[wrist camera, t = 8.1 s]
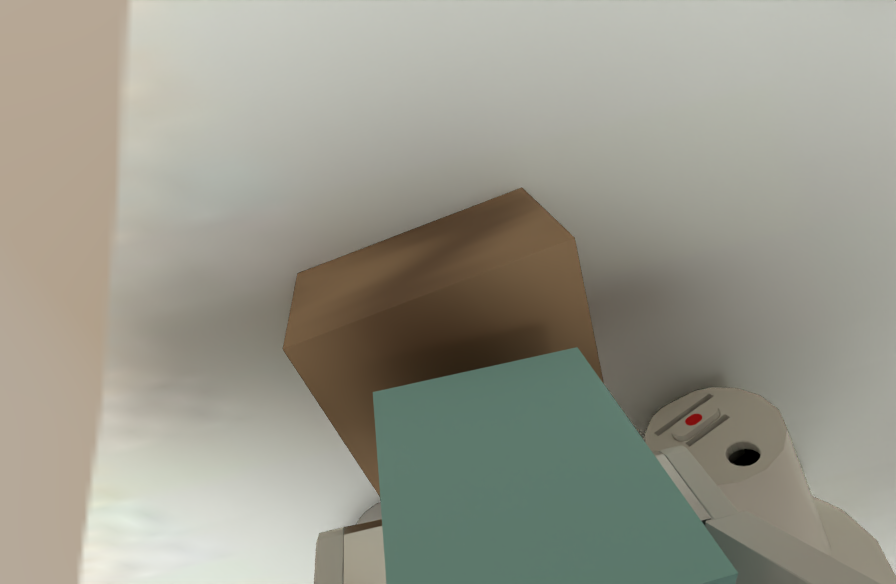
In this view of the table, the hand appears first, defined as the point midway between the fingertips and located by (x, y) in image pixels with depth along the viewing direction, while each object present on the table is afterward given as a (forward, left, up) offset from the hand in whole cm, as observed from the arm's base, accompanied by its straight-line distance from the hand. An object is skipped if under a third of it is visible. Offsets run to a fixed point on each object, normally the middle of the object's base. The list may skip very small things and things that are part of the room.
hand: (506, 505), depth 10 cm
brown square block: (0, 0, -7) cm, 7 cm away
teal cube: (0, 0, -2) cm, 2 cm away
